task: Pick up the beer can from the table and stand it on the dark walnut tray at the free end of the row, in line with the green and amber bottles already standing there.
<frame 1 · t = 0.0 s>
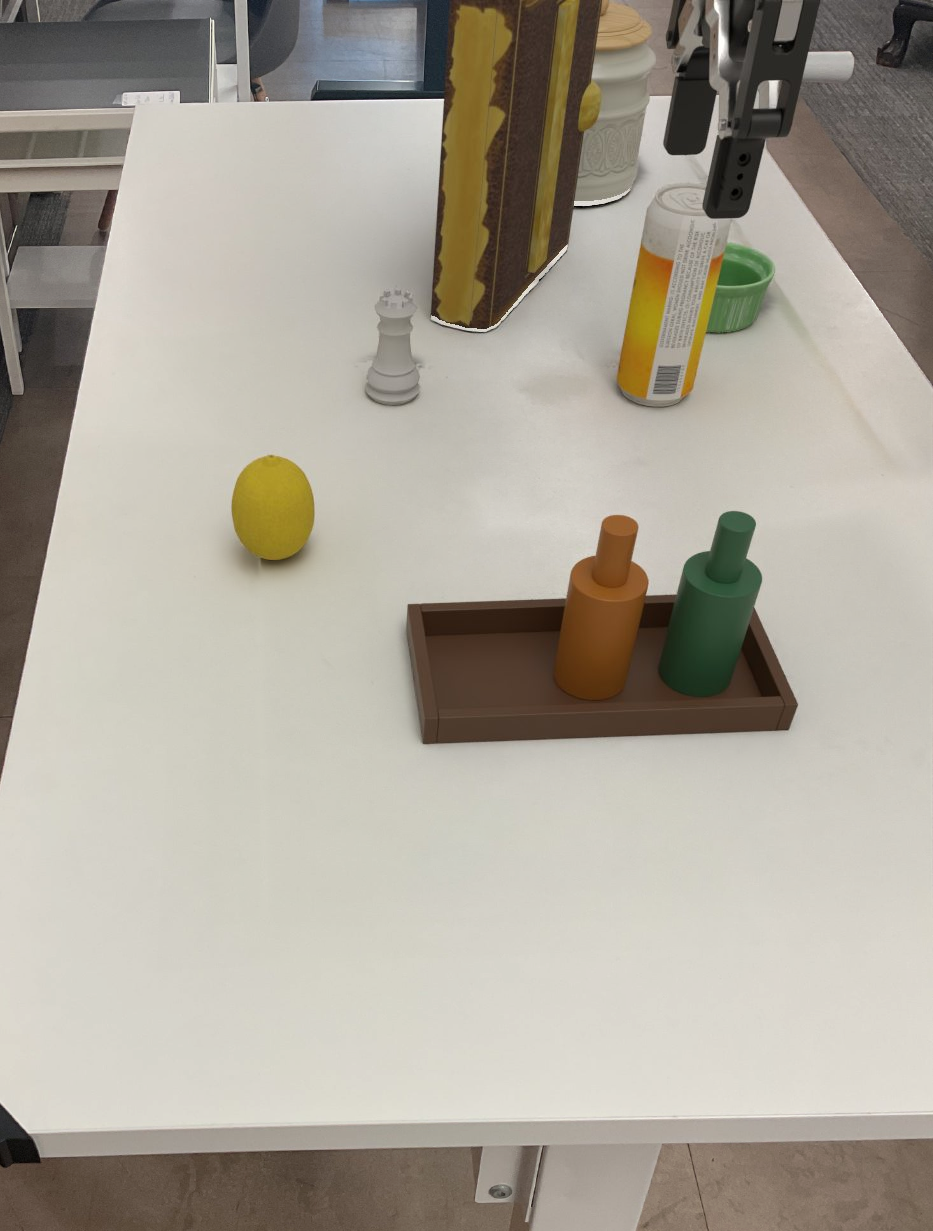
hand: (702, 182, 66), 25 cm above the table, tool pointing down, fingers open, 8 cm apart
ramekin: (709, 315, 110), on the table
rook chess piece: (392, 395, 101), on the table
amber bottle: (589, 677, 77), point 1 cm above the table, touching tray
lemon: (275, 562, 86), on the table
beer can: (652, 393, 101), on the table
tray: (587, 684, 77), on the table
book: (503, 280, 115), on the table
green bottle: (694, 673, 77), point 1 cm above the table, touching tray
jar: (570, 186, 129), on the table
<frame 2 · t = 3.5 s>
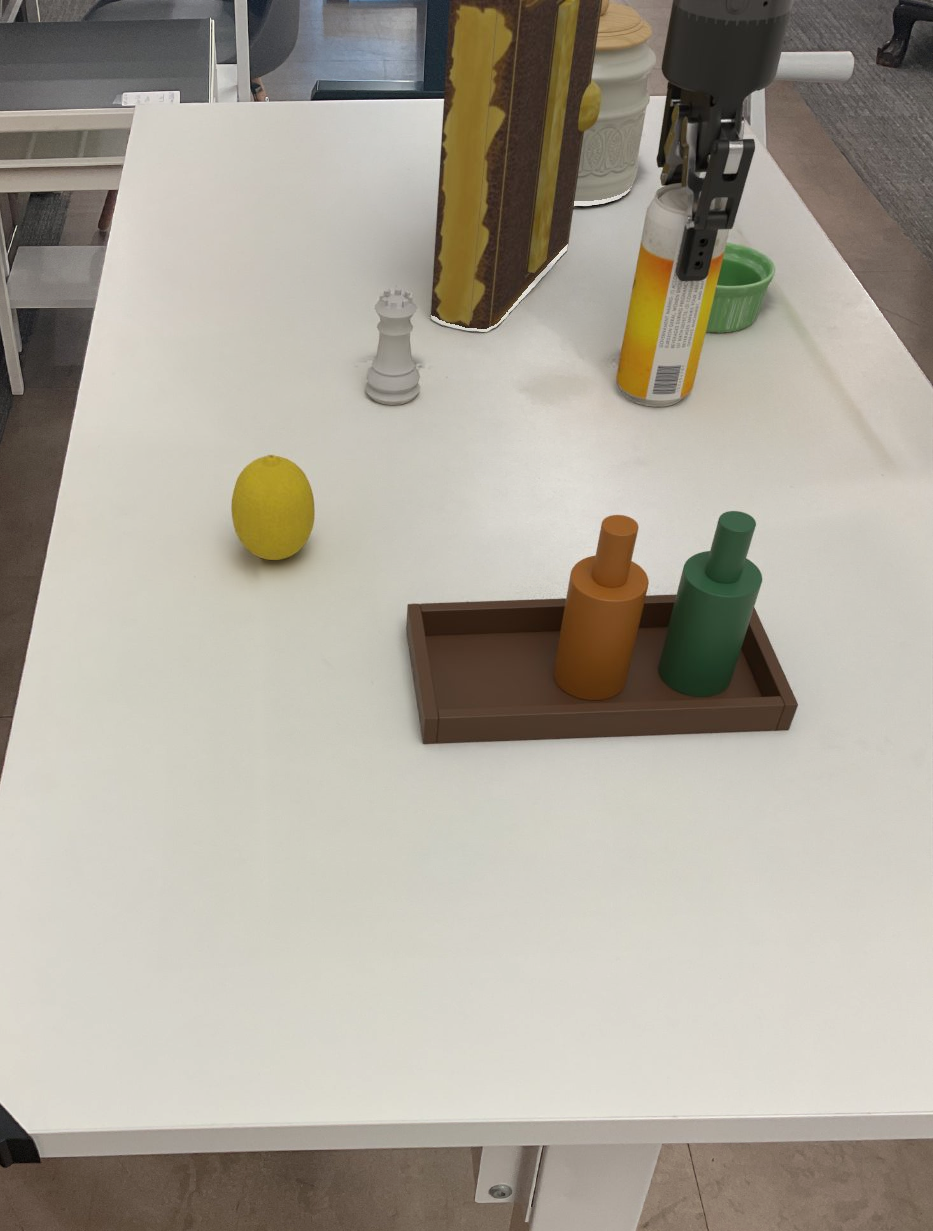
hand: (679, 258, 93), 11 cm above the table, tool pointing down, fingers closed on beer can, 6 cm apart
beer can: (652, 393, 101), on the table, touching gripper
everything else where it was.
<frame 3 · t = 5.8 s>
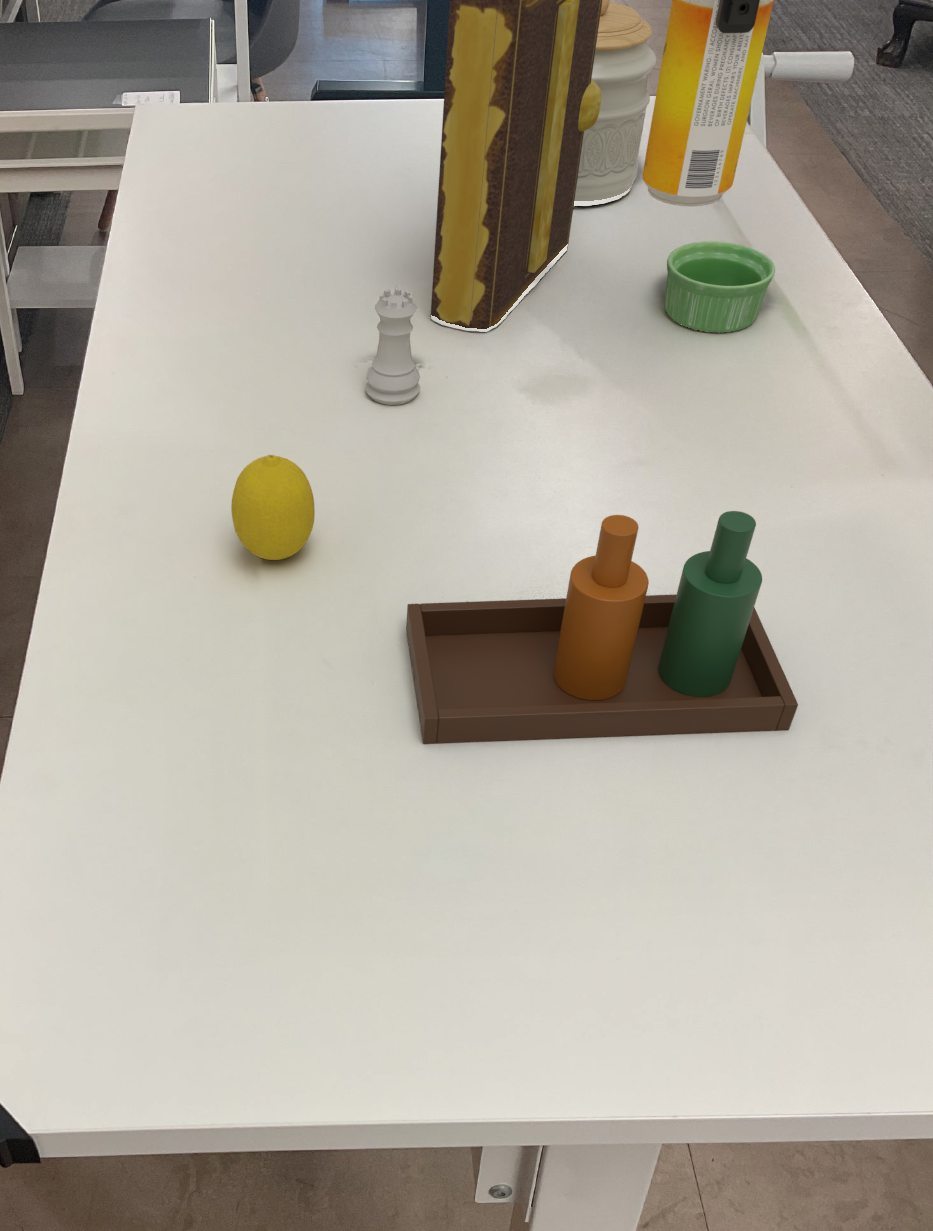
hand: (719, 13, 78), 27 cm above the table, tool pointing down, fingers closed on beer can, 6 cm apart
beer can: (684, 194, 86), point 17 cm above the table, touching gripper
everything else where it was.
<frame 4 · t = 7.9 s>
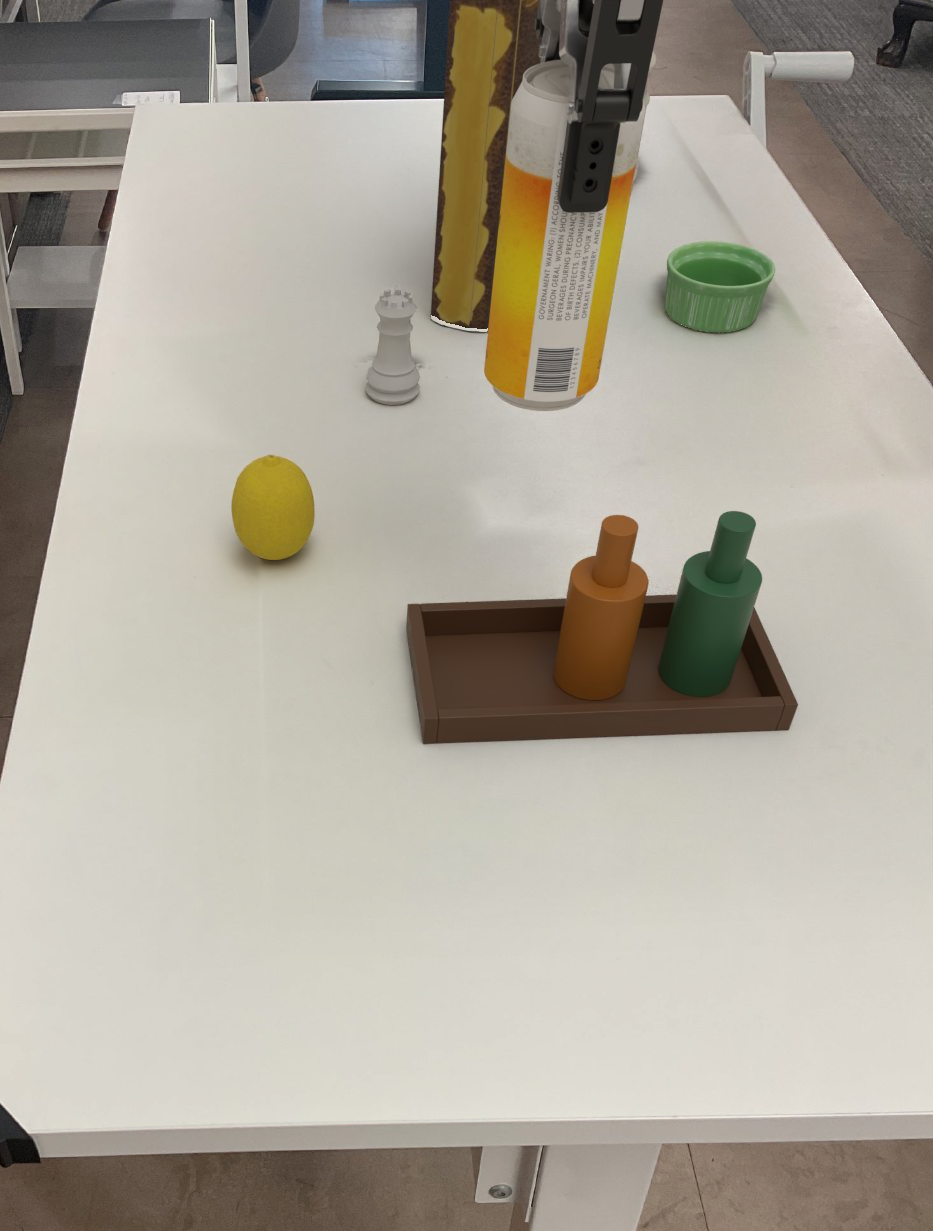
hand: (568, 179, 60), 28 cm above the table, tool pointing down, fingers closed on beer can, 6 cm apart
beer can: (538, 390, 68), point 17 cm above the table, touching gripper
everything else where it was.
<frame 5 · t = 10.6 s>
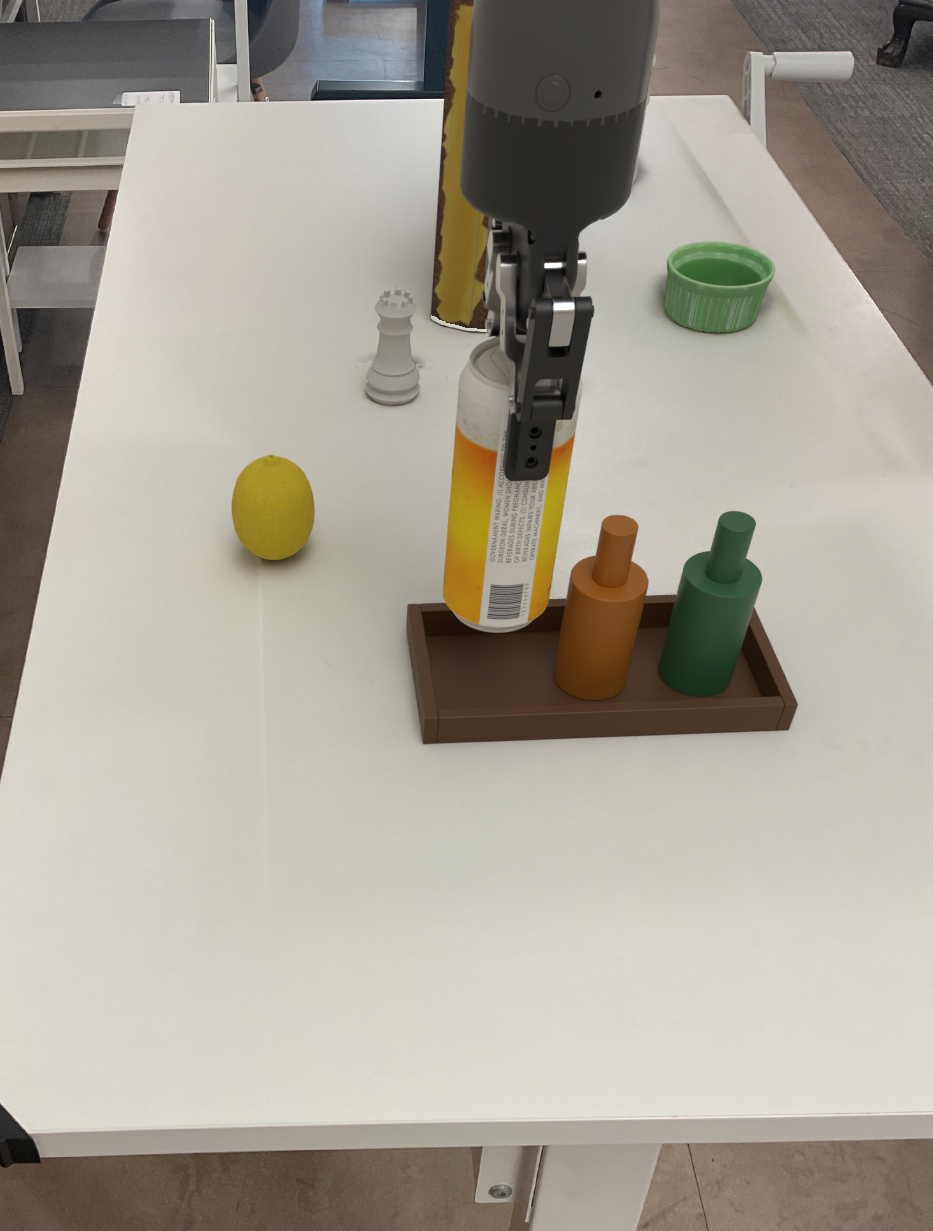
hand: (514, 439, 65), 17 cm above the table, tool pointing down, fingers closed on beer can, 6 cm apart
beer can: (494, 608, 73), point 6 cm above the table, touching gripper
everything else where it was.
when the fingers open (11 cm above the table, at t = 12.4 s): beer can stays where it is, resting on tray.
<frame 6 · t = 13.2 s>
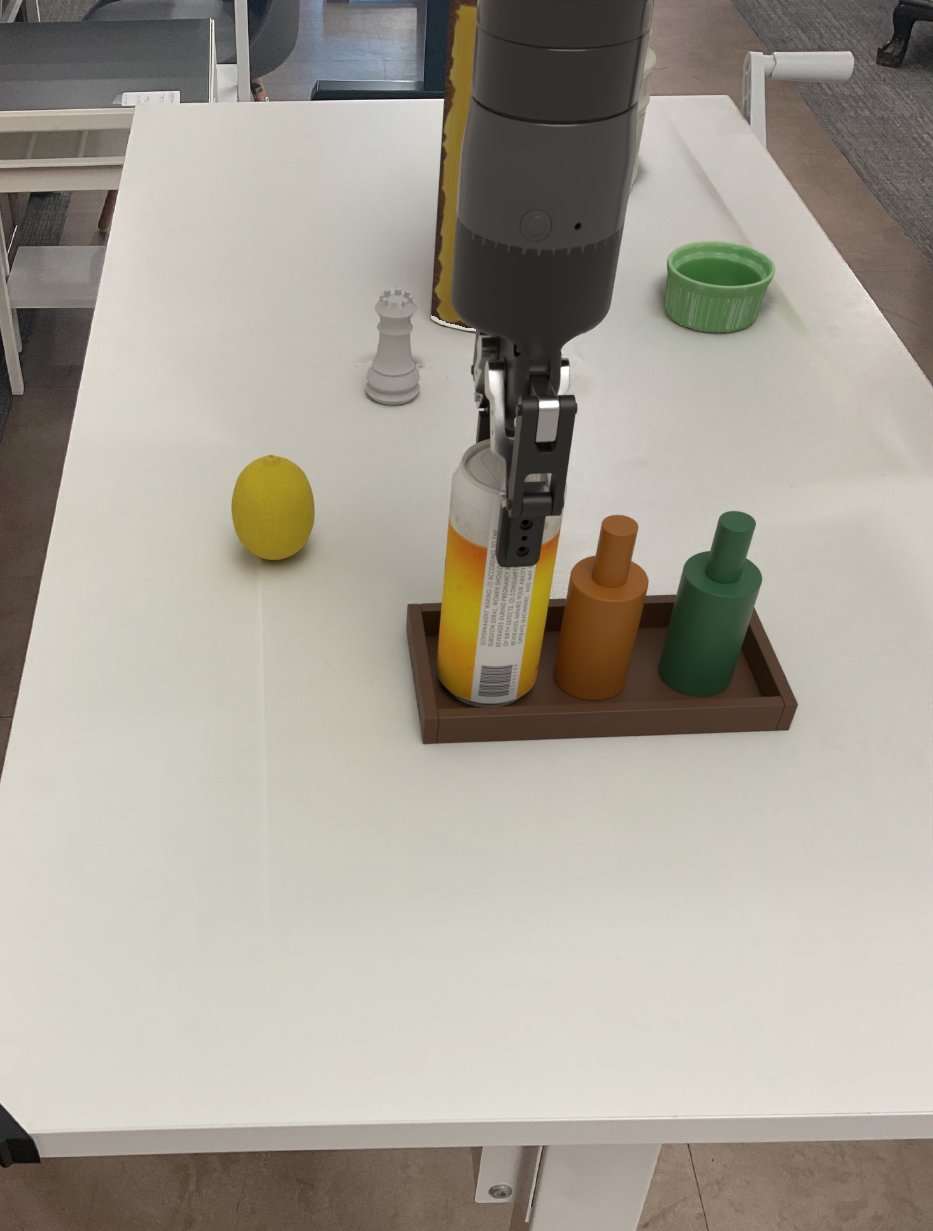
hand: (504, 516, 68), 12 cm above the table, tool pointing down, fingers open, 8 cm apart
beer can: (485, 682, 77), resting on tray
everything else where it was.
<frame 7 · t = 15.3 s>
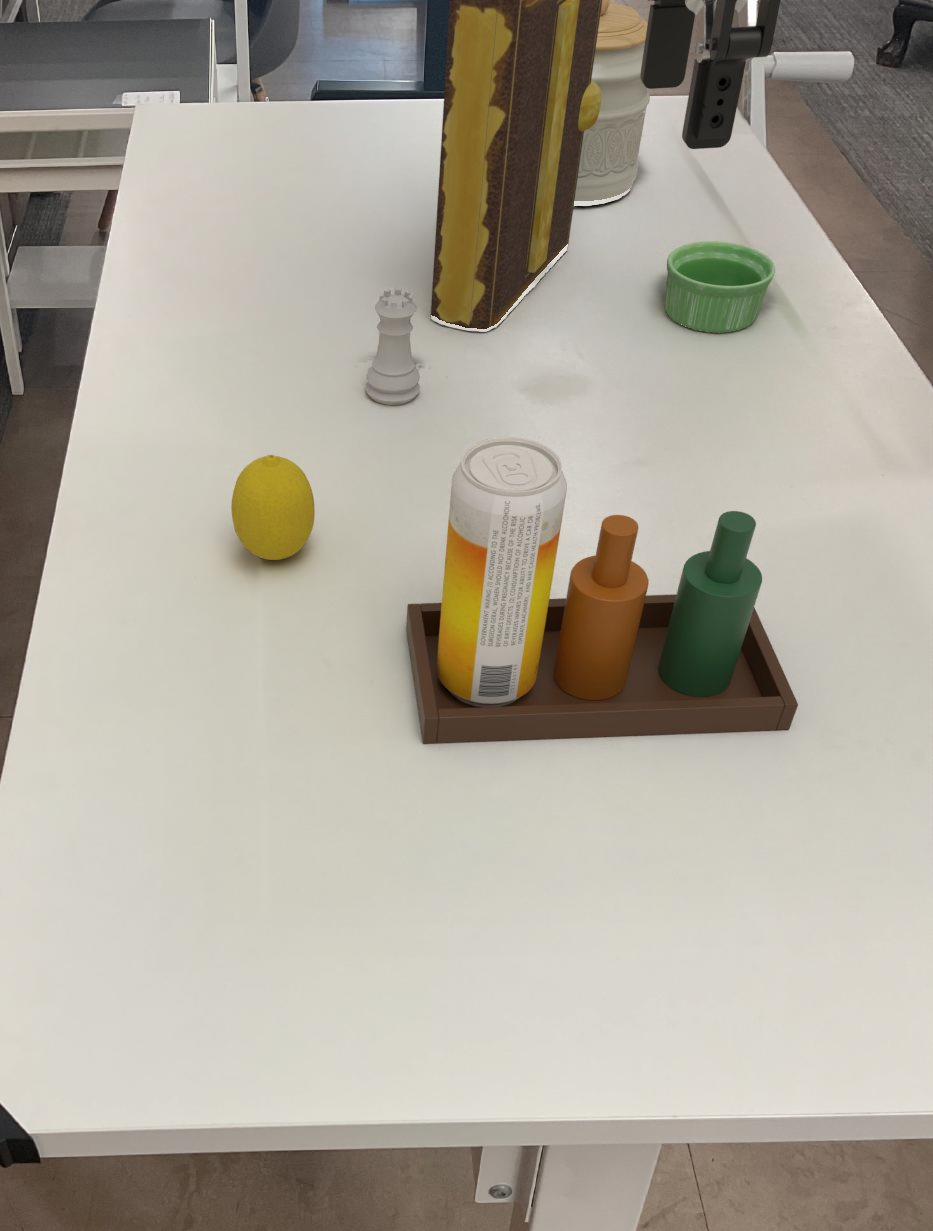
hand: (681, 114, 64), 29 cm above the table, tool pointing down, fingers open, 8 cm apart
nothing on the table moved.
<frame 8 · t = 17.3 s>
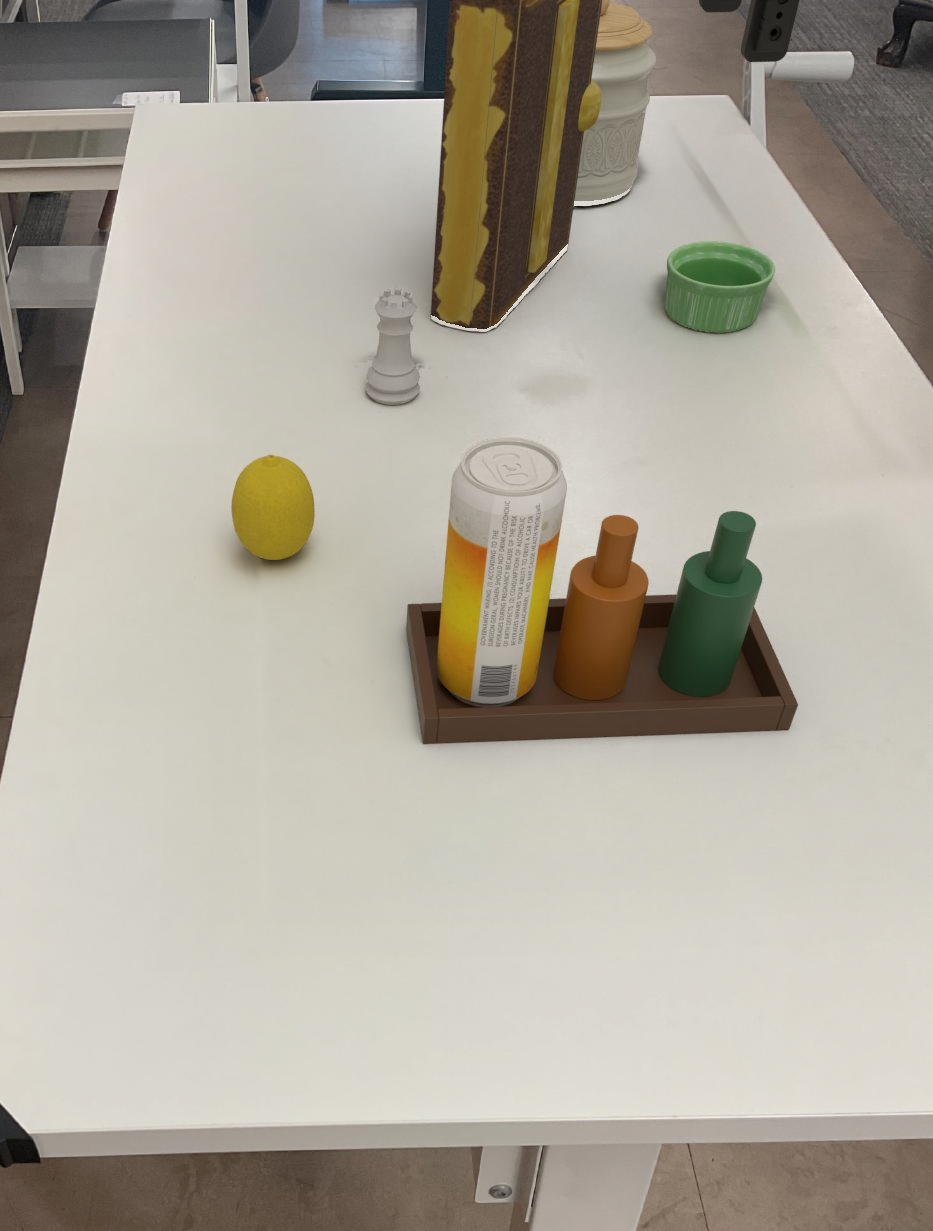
hand: (738, 33, 67), 30 cm above the table, tool pointing down, fingers open, 8 cm apart
nothing on the table moved.
at the end: beer can 0.1 cm from the target spot in the tray, point 0.4 cm above the tray's base; beer can tilted 0°; amber bottle moved 0.0 cm from its start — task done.
